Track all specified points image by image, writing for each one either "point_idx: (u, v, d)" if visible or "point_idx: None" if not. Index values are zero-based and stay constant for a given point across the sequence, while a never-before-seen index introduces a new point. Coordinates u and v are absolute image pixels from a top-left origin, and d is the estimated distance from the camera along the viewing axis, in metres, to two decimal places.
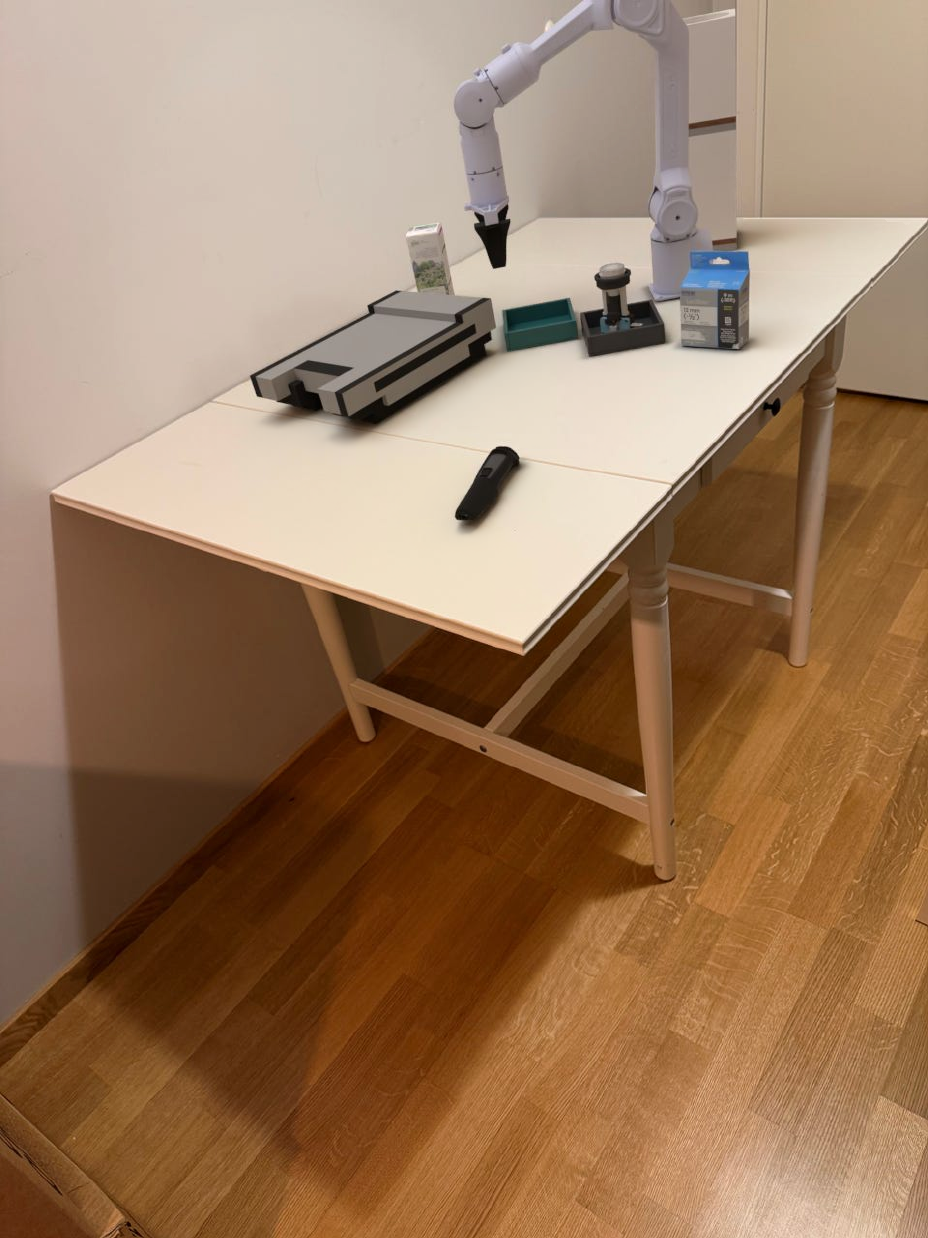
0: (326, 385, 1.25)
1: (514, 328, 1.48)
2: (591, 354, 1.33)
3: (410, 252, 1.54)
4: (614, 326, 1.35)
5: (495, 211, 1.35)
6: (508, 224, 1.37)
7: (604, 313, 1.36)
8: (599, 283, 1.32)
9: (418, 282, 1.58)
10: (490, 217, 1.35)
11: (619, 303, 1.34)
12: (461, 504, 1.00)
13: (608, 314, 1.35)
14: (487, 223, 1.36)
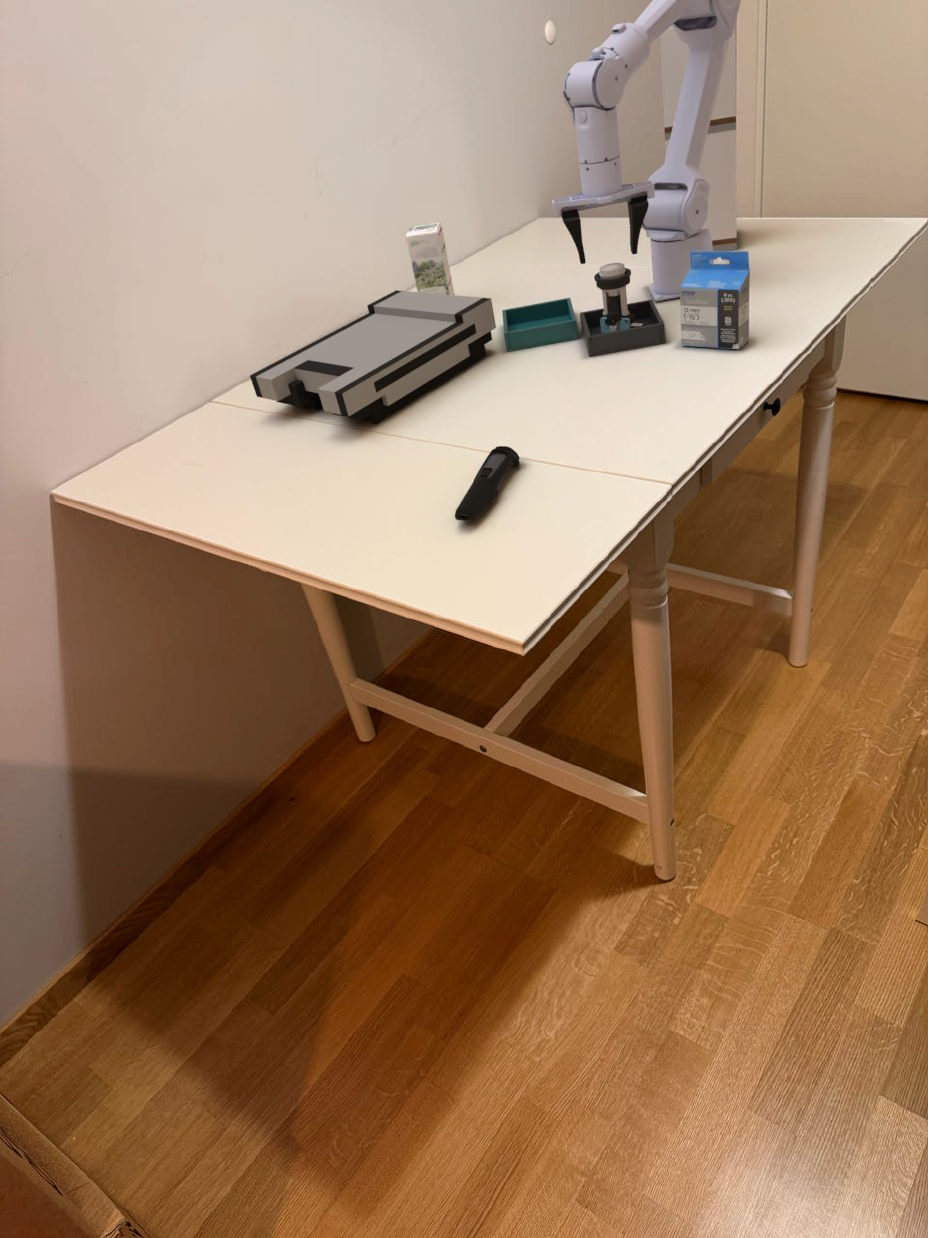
0: (326, 385, 1.25)
1: (514, 328, 1.48)
2: (591, 354, 1.33)
3: (410, 252, 1.54)
4: (614, 326, 1.35)
5: None
6: None
7: (604, 313, 1.36)
8: (599, 283, 1.32)
9: (418, 282, 1.58)
10: None
11: (619, 303, 1.34)
12: (461, 504, 1.00)
13: (608, 314, 1.35)
14: (654, 194, 1.30)
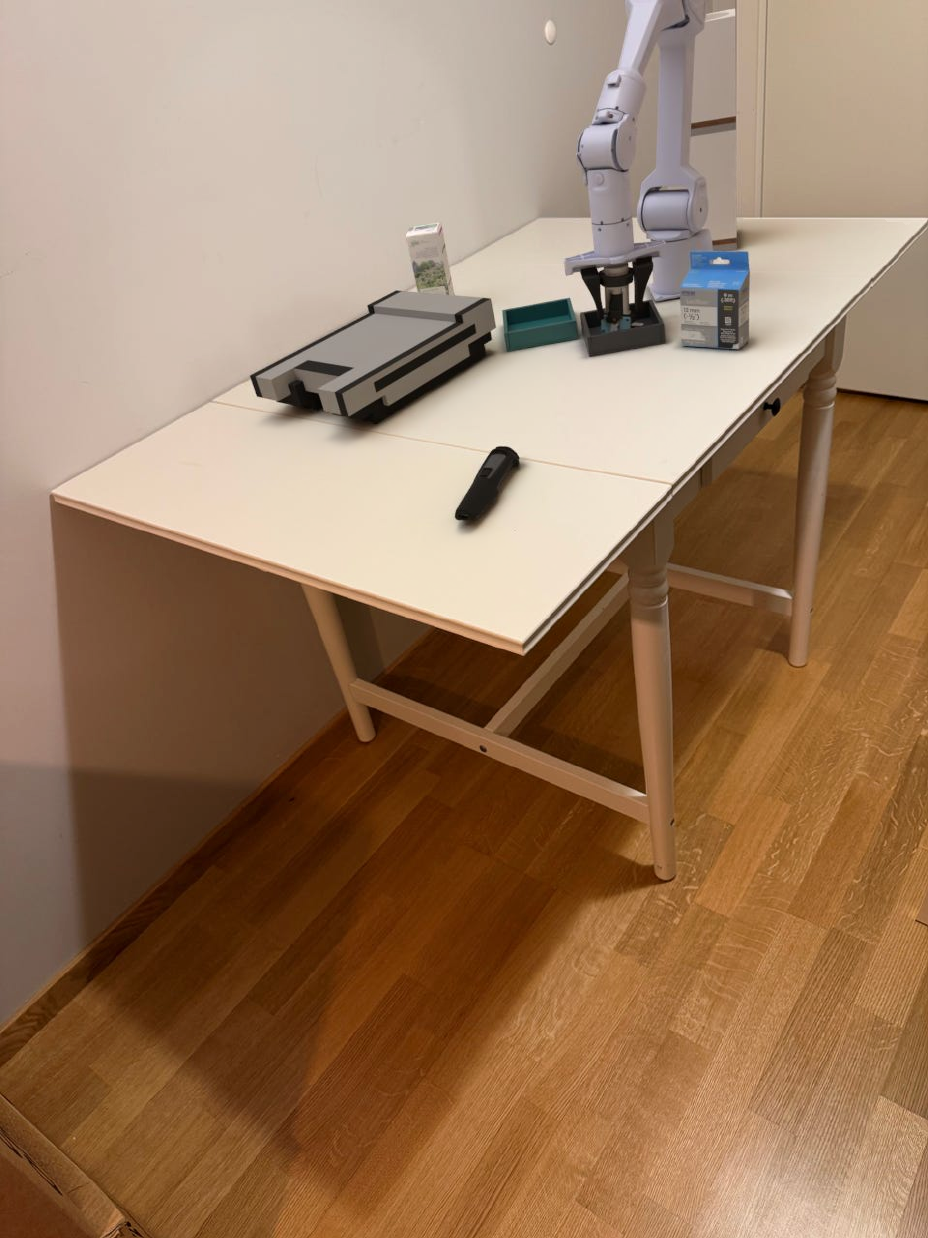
0: (326, 385, 1.25)
1: (514, 328, 1.48)
2: (591, 354, 1.33)
3: (410, 252, 1.54)
4: (615, 324, 1.35)
5: (664, 241, 1.30)
6: None
7: (605, 311, 1.36)
8: (602, 280, 1.32)
9: (418, 282, 1.58)
10: None
11: (621, 302, 1.34)
12: (461, 504, 1.00)
13: (610, 312, 1.35)
14: (666, 254, 1.29)
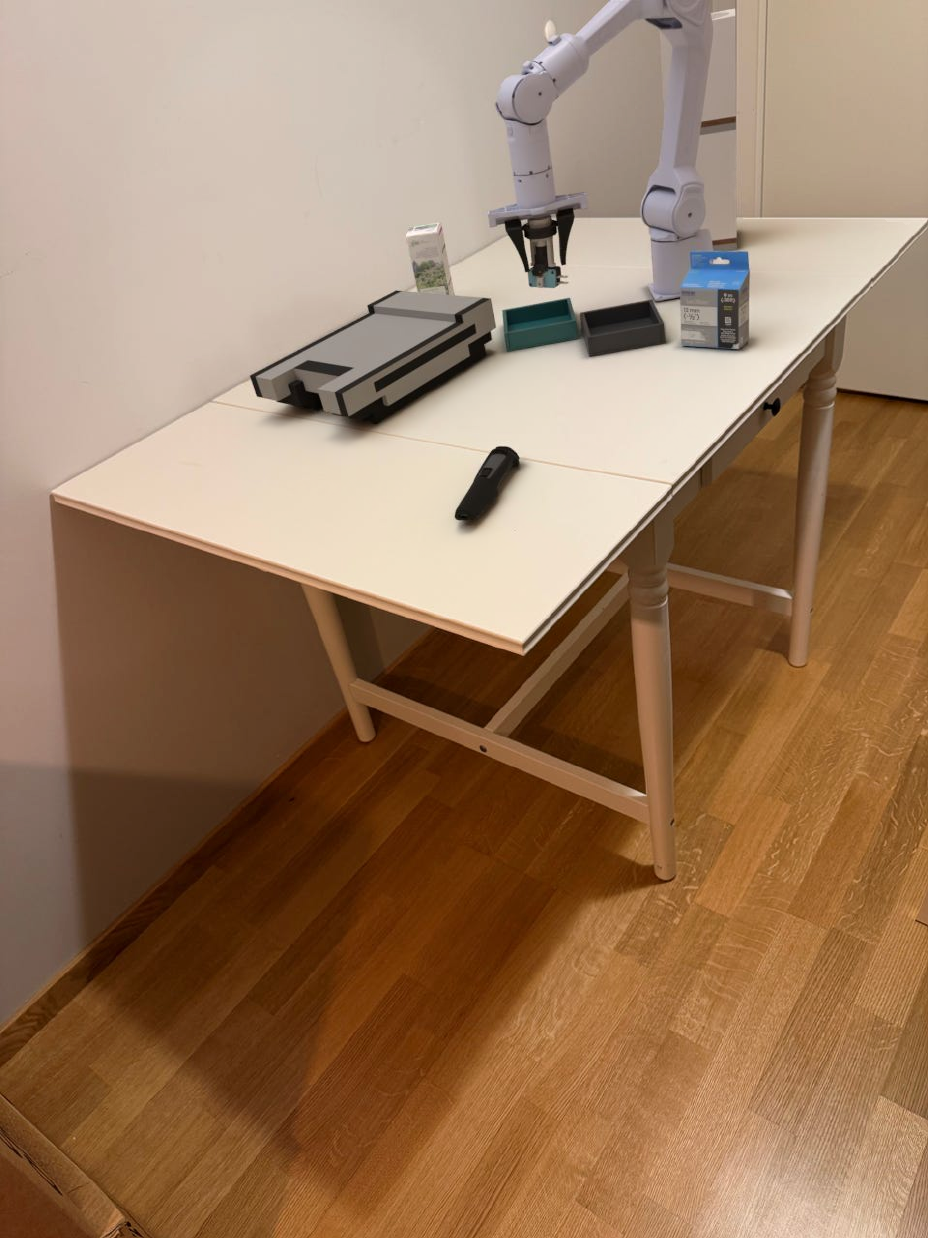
0: (326, 385, 1.25)
1: (514, 328, 1.48)
2: (591, 354, 1.33)
3: (410, 252, 1.54)
4: (541, 277, 1.38)
5: (585, 193, 1.32)
6: None
7: (531, 264, 1.38)
8: (526, 232, 1.34)
9: (418, 282, 1.58)
10: None
11: (546, 254, 1.36)
12: (461, 504, 1.00)
13: (535, 265, 1.37)
14: (587, 205, 1.32)
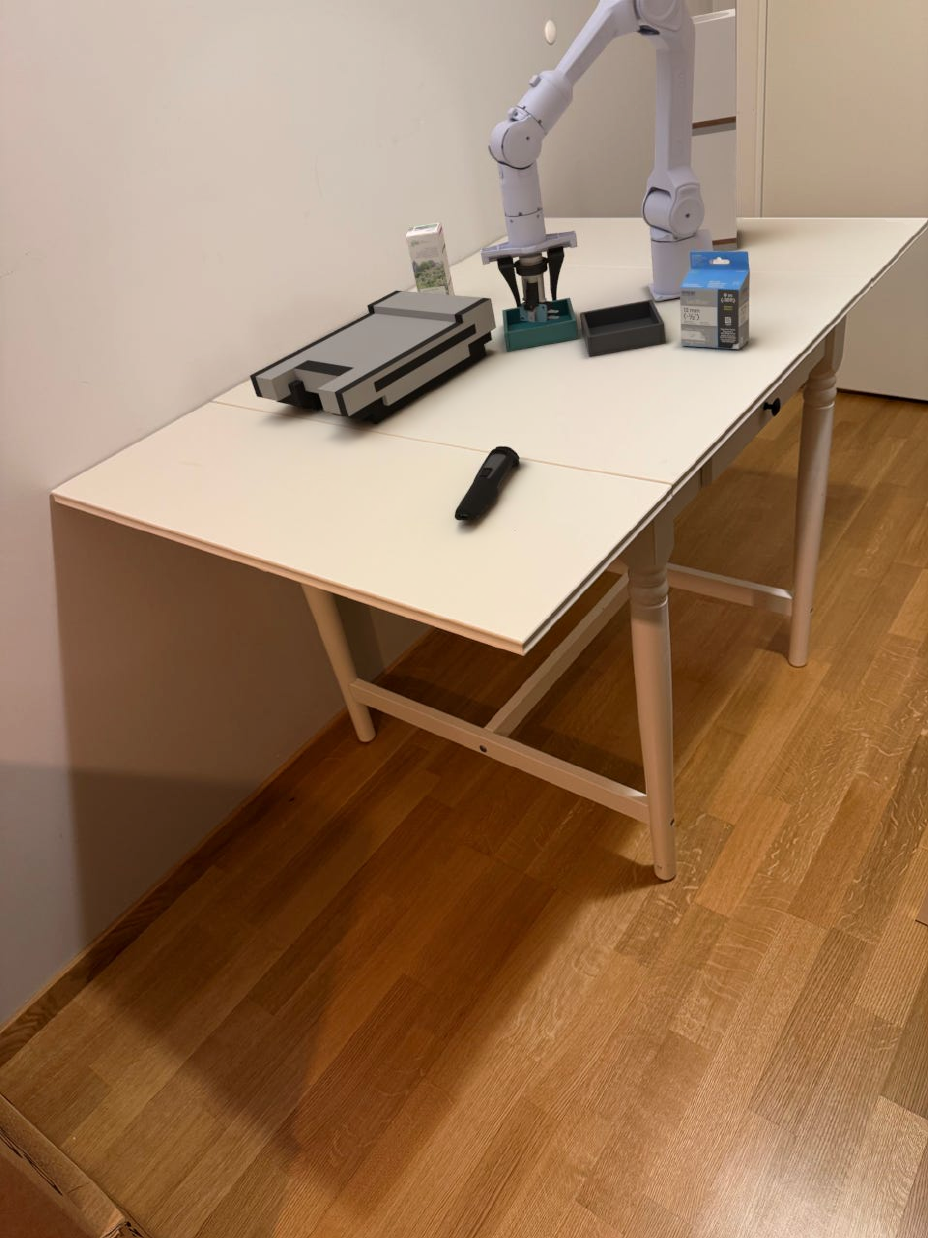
0: (326, 385, 1.25)
1: (514, 328, 1.48)
2: (591, 354, 1.33)
3: (410, 252, 1.54)
4: (532, 312, 1.42)
5: (575, 232, 1.37)
6: None
7: (523, 299, 1.43)
8: (518, 269, 1.39)
9: (418, 282, 1.58)
10: None
11: (537, 290, 1.41)
12: (461, 504, 1.00)
13: (526, 300, 1.41)
14: None
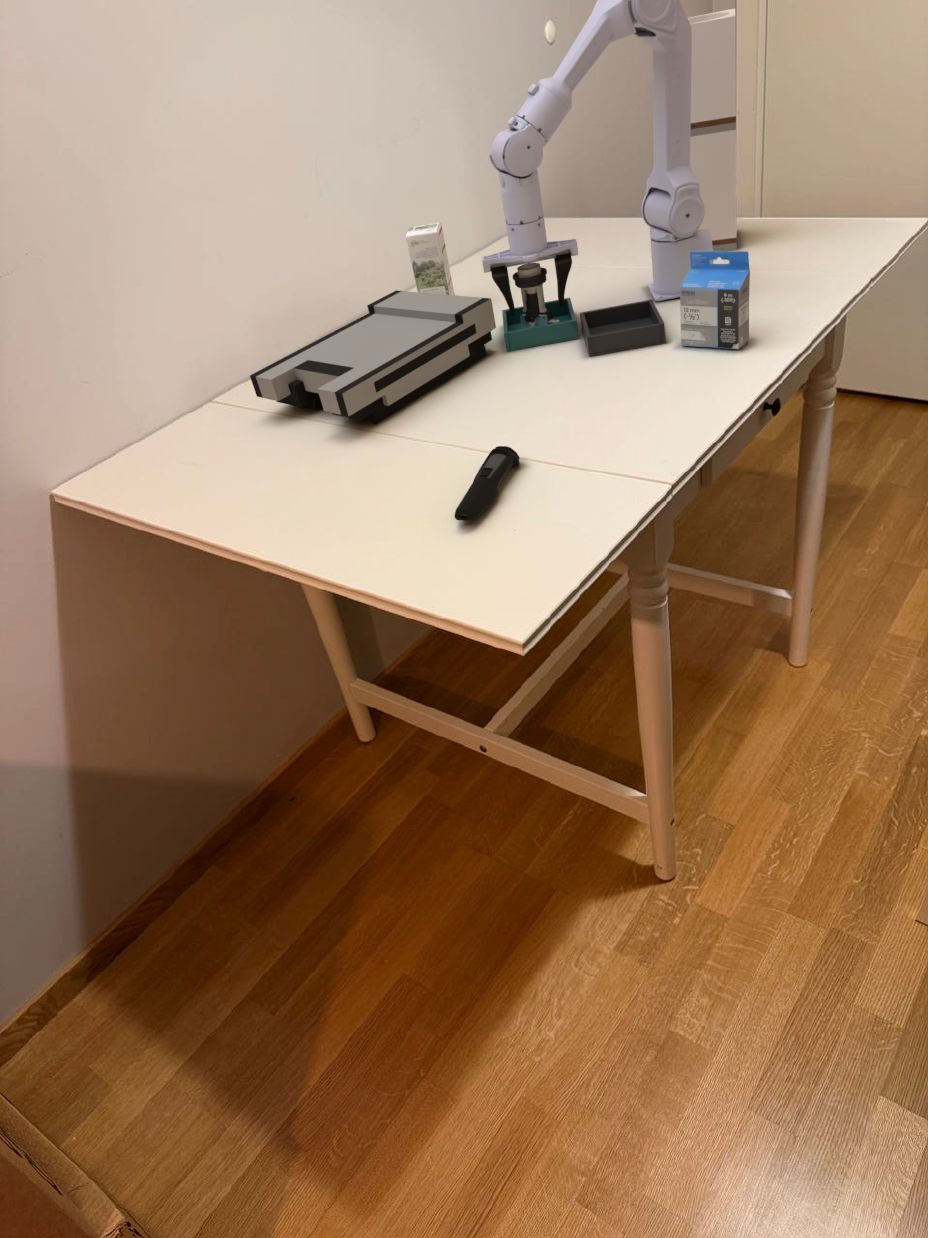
0: (326, 385, 1.25)
1: (514, 328, 1.48)
2: (591, 354, 1.33)
3: (410, 252, 1.54)
4: (533, 322, 1.43)
5: None
6: None
7: (524, 310, 1.44)
8: (517, 282, 1.40)
9: (418, 282, 1.58)
10: None
11: (537, 301, 1.42)
12: (461, 504, 1.00)
13: (527, 311, 1.42)
14: None
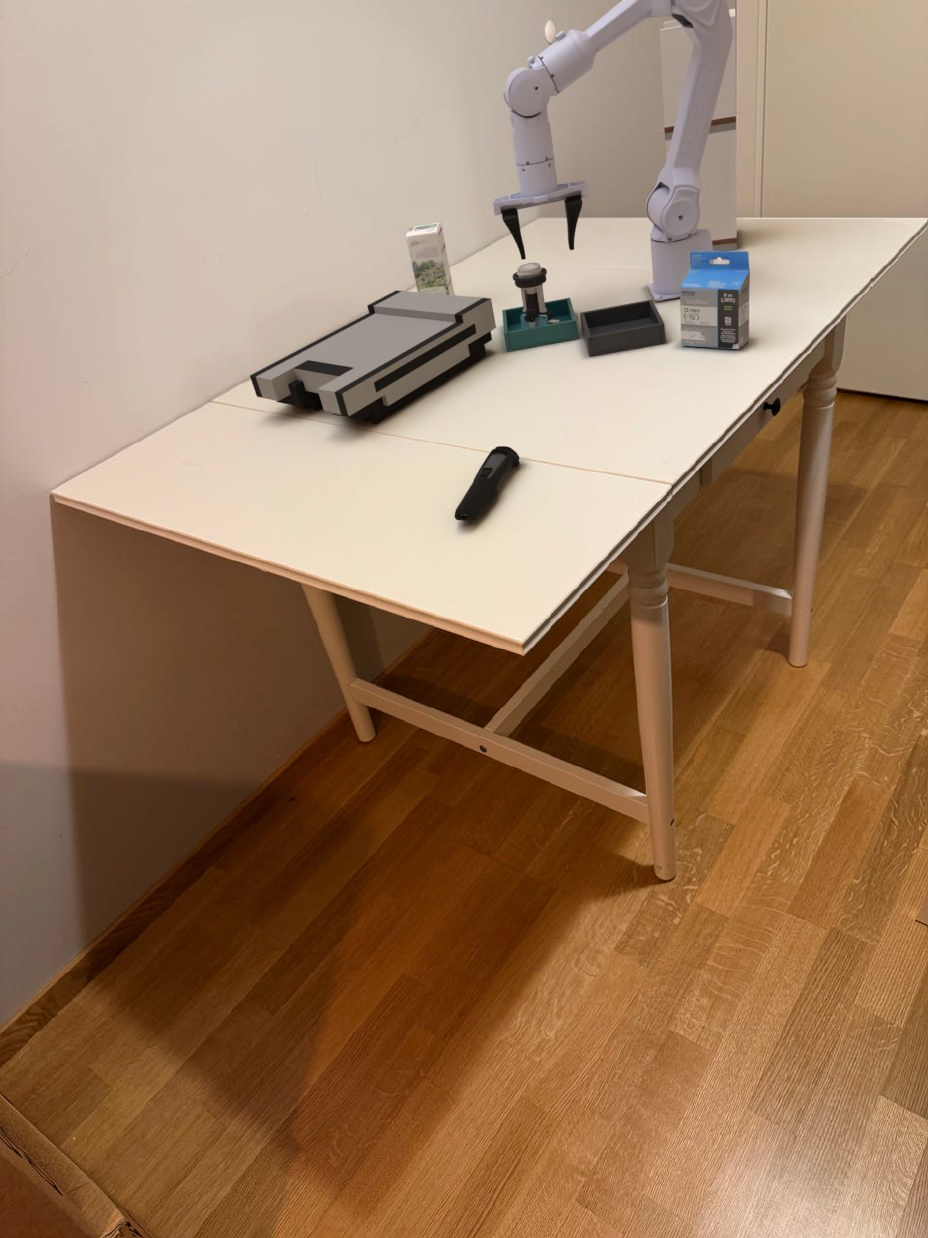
0: (326, 385, 1.25)
1: (514, 328, 1.48)
2: (591, 354, 1.33)
3: (410, 252, 1.54)
4: (533, 322, 1.43)
5: None
6: None
7: (524, 310, 1.44)
8: (517, 282, 1.40)
9: (418, 282, 1.58)
10: None
11: (537, 301, 1.42)
12: (461, 504, 1.00)
13: (527, 311, 1.42)
14: None
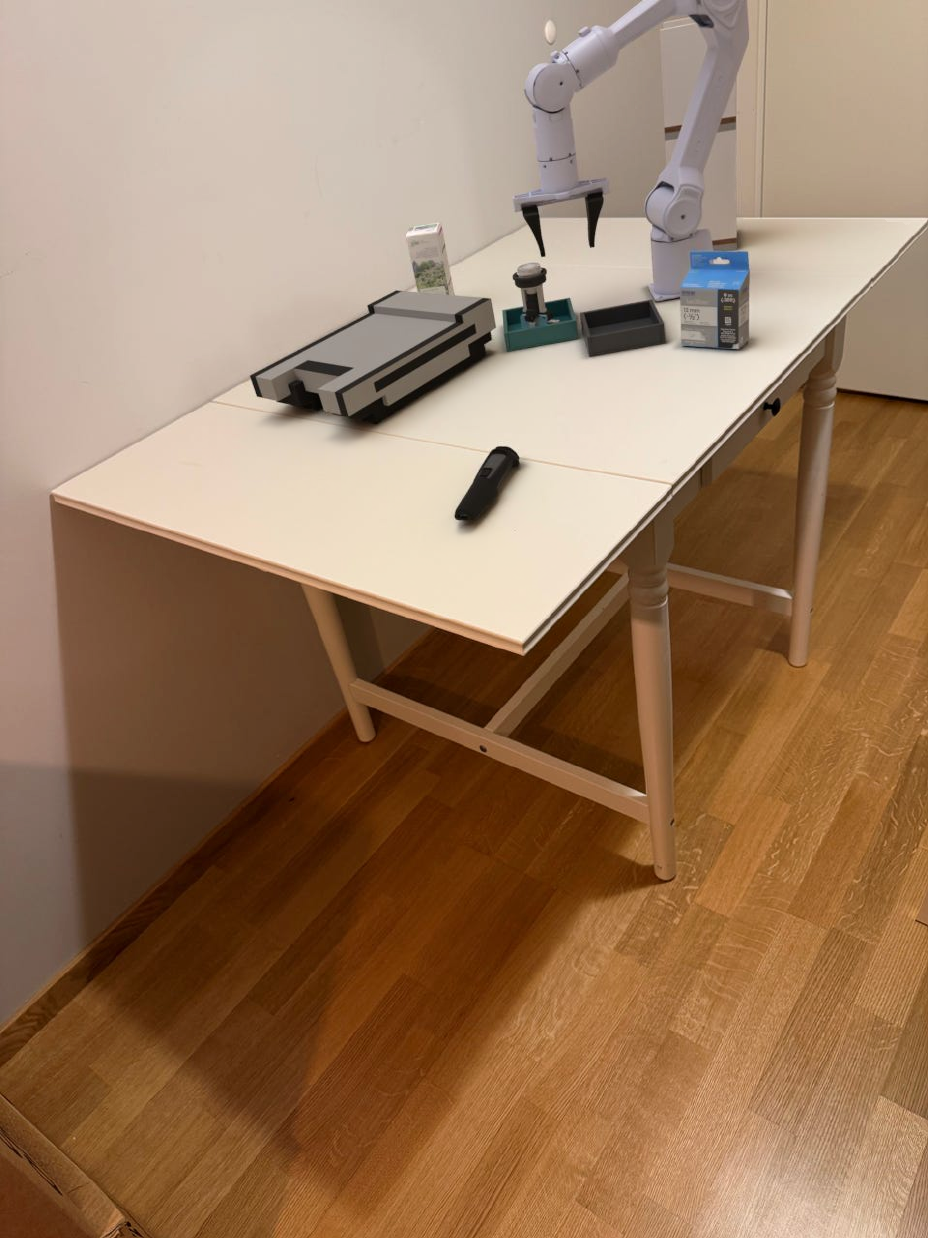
0: (326, 385, 1.25)
1: (514, 328, 1.48)
2: (591, 354, 1.33)
3: (410, 252, 1.54)
4: (533, 322, 1.43)
5: (607, 178, 1.37)
6: None
7: (524, 310, 1.44)
8: (517, 282, 1.40)
9: (418, 282, 1.58)
10: None
11: (537, 301, 1.42)
12: (461, 504, 1.00)
13: (527, 311, 1.42)
14: (609, 191, 1.36)
